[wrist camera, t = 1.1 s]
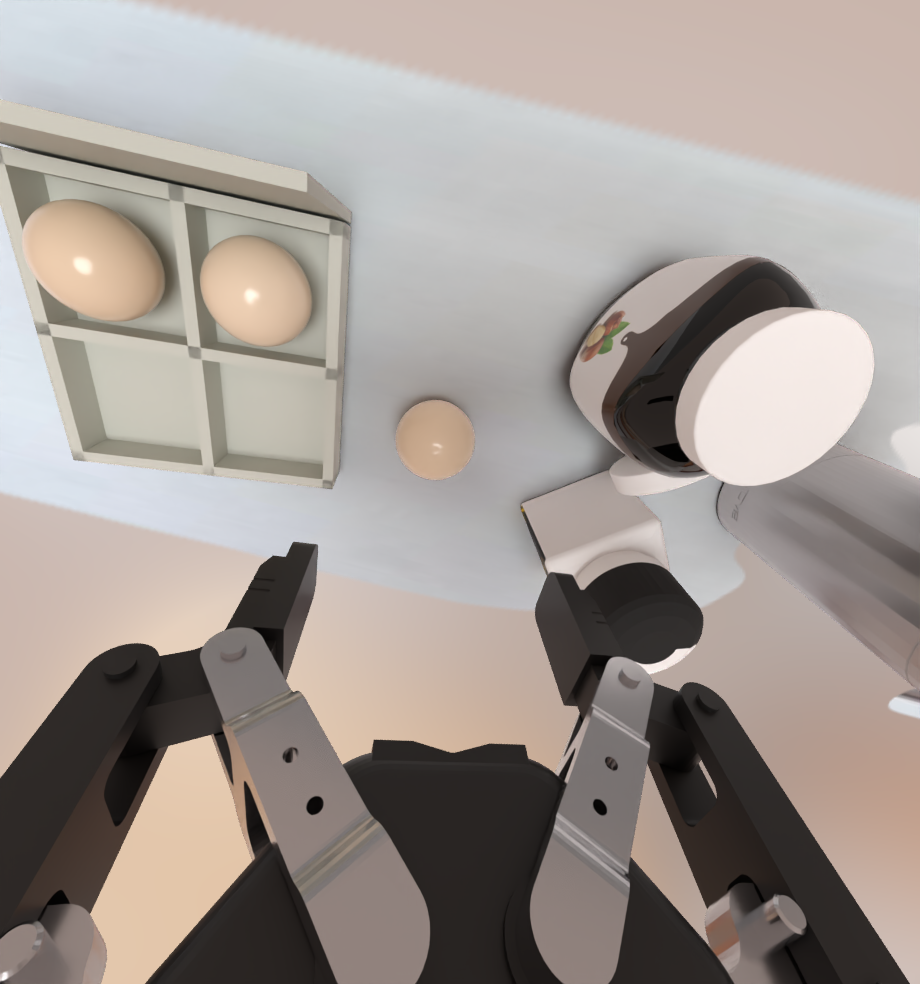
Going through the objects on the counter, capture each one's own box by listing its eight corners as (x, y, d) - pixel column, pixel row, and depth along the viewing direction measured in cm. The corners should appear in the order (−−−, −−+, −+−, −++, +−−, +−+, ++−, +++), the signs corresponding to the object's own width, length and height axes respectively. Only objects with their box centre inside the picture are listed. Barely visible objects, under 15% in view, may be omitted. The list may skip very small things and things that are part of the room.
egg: (476, 397, 26) (488, 421, 22) (463, 464, 28) (471, 498, 24) (401, 385, 25) (398, 408, 21) (393, 455, 27) (389, 489, 23)
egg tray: (351, 212, 21) (307, 172, 12) (339, 471, 27) (305, 559, 19) (29, 138, 18) (-297, 28, 10) (103, 443, 25) (-52, 529, 17)
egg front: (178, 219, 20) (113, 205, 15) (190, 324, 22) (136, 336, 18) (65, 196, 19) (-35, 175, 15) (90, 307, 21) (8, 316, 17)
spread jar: (665, 234, 22) (872, 204, 12) (763, 365, 27) (976, 424, 16) (517, 400, 26) (581, 482, 16) (623, 492, 30) (727, 603, 20)
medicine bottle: (518, 502, 30) (572, 627, 19) (610, 466, 29) (718, 576, 19) (544, 570, 33) (602, 707, 23) (627, 539, 33) (727, 666, 22)
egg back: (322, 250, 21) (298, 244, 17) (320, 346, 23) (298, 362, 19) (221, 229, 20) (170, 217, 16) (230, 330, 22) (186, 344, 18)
